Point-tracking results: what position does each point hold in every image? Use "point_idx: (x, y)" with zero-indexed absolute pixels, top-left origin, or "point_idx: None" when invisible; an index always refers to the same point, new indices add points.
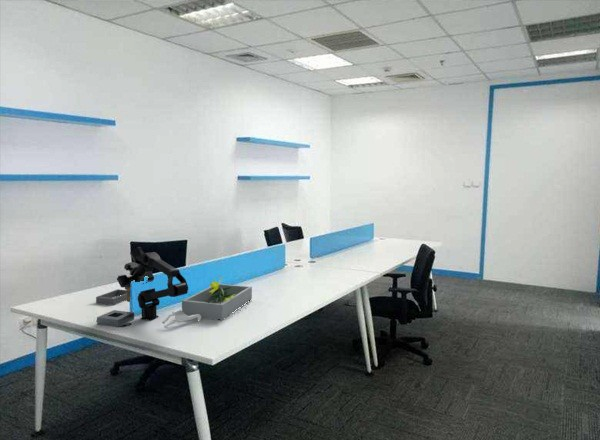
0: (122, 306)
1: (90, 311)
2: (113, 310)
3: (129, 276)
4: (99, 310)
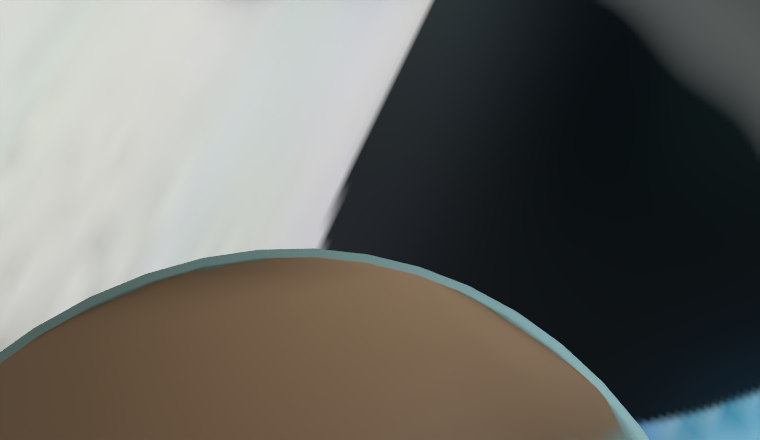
0: (358, 82)
1: (22, 15)
2: None
3: (350, 272)
4: (108, 47)
